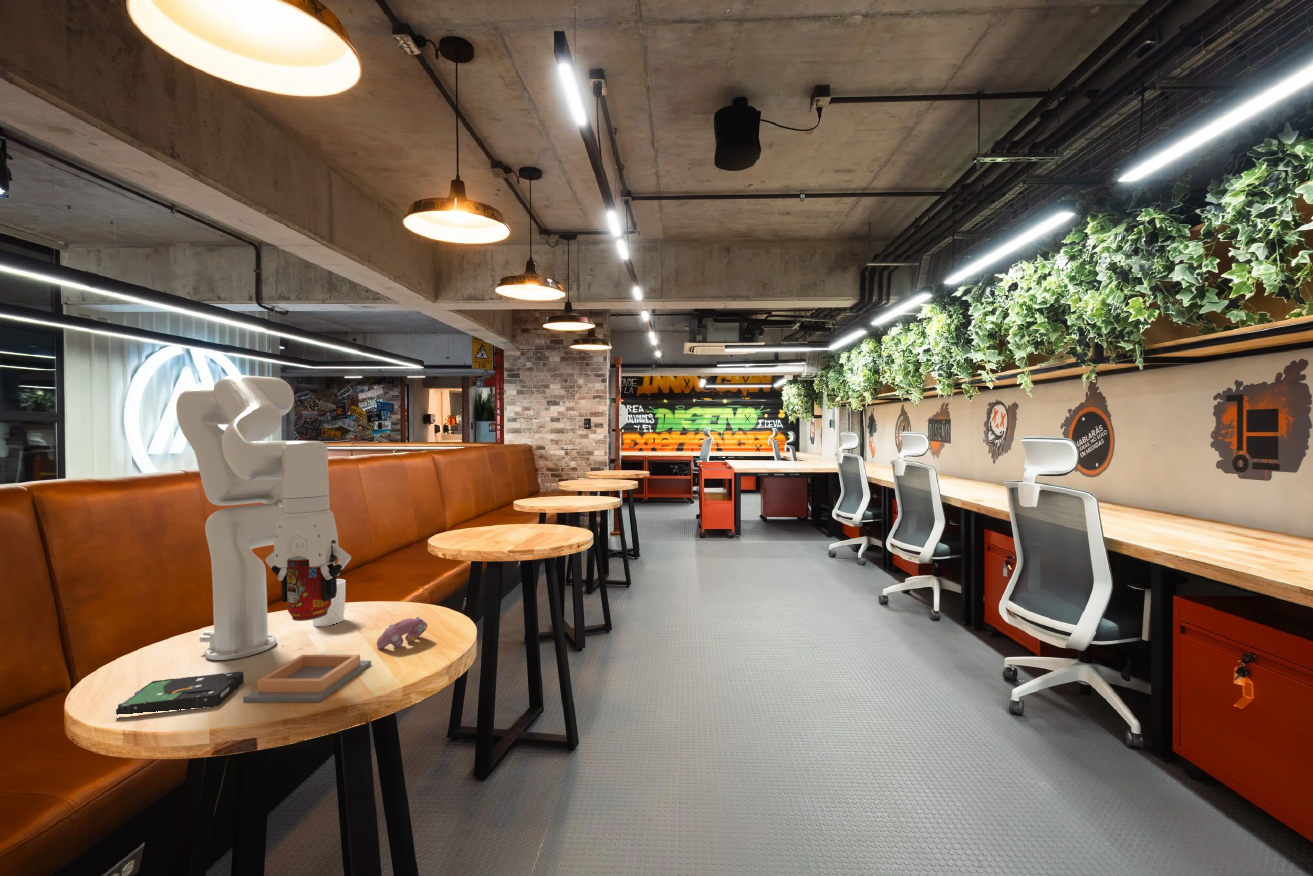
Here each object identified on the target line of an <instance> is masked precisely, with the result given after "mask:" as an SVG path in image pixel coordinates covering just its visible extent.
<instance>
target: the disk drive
mask: <svg viewBox="0 0 1313 876" xmlns="http://www.w3.org/2000/svg"><path fill="white" fill-rule="evenodd" d="M244 677H245V675H244V671H231V672H222V673H216V674H215V673H214V674H207V675H204V674H203V675H198V676H197V675H194V676H188V677H187V676H186V677H180V678H177V677H176V678H167V679H161V680H160V679H159V680H152V681H151V682H150V683H148V684H147V685H145V686H143V687H142V688H140V689H139V690H137V691H136V692H134V695H132V696H131V697H128V699H126V700H125V701H123V702H122V703H119V704H117V708H116V709H115V715H116V714H117V715H118V714H133V713H143V712H156V711H157V712H158V711H169V710H179V709H180V710H181V709H191V708H203V707H211V708H216V707H215V706H217V707H218V706H219V705H221V703H222V702H224V701H225V700H226V699H227V698H228V697H229V696H230V695H232V694H233V693H234V692H235V691H236V690H237V689H238V688H239V687H241V685H243V684H244V680H245V679H244ZM203 709H204V708H203Z"/></svg>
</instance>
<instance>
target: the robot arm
mask: <svg viewBox="0 0 1313 876" xmlns="http://www.w3.org/2000/svg"><path fill="white" fill-rule="evenodd" d="M294 402H295V397H294V391H293V389H292V387H291V385H290V384H289V383H288V382H287V381H286V380H284V379H282V378H279V377H275V376H274V377H273V376H260V375H259V376H258V375H242V374H236V375H227V376H224V377H222V378H220V379H219V380H218V381H217V382H216V383H215V384H214V386H211V387H209V386H208V387H206V386H205V387H193V388H190V389H187V390H185V391H182V393H180V394H179V396H178V398H177V400H176V406H175V409H176V410H175V411H176V419H177V422H178V425H179V428H180V430H181V432H182V434H183V436H184V437H185V439H186V441H187V442H188V444H189V445H190V447H191V449H192V451H193V453H194V455H195V459H196V462H197V467H198V470H199V475H200V478H201V479H200V480H201V484H202V487H203V491H204V494H205V496H206V498H207V500H208V502H209V503H211V504H212V505H214V506H220V507H221V506H231V507H226V508H223V509H219V510H217V511H214V512H213V513H211V514H210V515H209V516H208V518H207V520H206V522H205V525H204V527H205V528H204V532H205V536H206V540H207V541H206V542H207V544H208V549H209V555H210V561H211V579H212V605H213V606H212V607H213V611H212V612H213V614H212V615H213V629H212V630H211V629H210V630H209V629H208V630H205V631H204V632H203V634H202V635H201V636H200V638H199V642H200V643H209V647H208V648H207V649H206V650H205V658H207V660H212V661H227V660H236V659H241V658H247V657H250V656H255V655H257V654H260V653H262V652H264V651H267V650H269V649H271V648H272V647H274V646H275V645H276V644H277V637H276V636H275V635H272V634H269V631H268V630H269V628H268V626H269V625H268V624H269V623H268V598H267V597H268V591H267V572H266V571H267V569H266V566H265V564H267V565H268V567H270V569H271V571H272V573H274V574H275V576H277V580H278V581H279V582H280V588H281V591H280V592H281V601H282V602H283V603H288V602H287V559H288V558H291V557H296V556H300V557H305V558H307V559H309V567H312V568H318V567H320V570H321V572H322V574H323V576H324V578H325V579H324V580H322V600H323V601H328V600H330V599H333V598H335V597H336V593H337V580H336V579H337V577H339V575H341V572H343V570H345V568H346V566H347V565H348V563H350V561H351V559H352V555H351V554H349V553H348V552H347V551H345V549H344V548H342V547H340V546H339V535H338V529H337V524H336V519H335V516H334V512H333V511H330V509H331V508H330V506H331V505H330V484H329V482H330V481H329V479H330V478H329V474H330V473H329V450H328V446H327V444H326V443H325V442H323V441H320V440H264V439H267V438H269V437H270V436H272V435H273V434H275V432H277V431H278V430H279V428H280V427H281V424H282V417H283V416H286V414H288V413H289V412H290V411H291V410H292V408H293V405H294ZM219 425H227V426H226V428H225V429H222V428H221V427H220V426H219ZM259 503H261V504H259ZM248 504H249V505H248ZM250 504H251V505H250ZM239 505H240V506H239ZM241 505H242V506H241ZM267 546H274V547H273V551H272V552H271V553H270V554H269V555H268V556H267V557H266V558H265V560H264V562H265V563H264V562H263V560H262V559H261V558H260V557H258V556H257V555H256V554H255V553H254V551H253V550H254V549H256V548H257V549H258V548H260V547H261V548H262V547H267ZM336 562H337V563H336ZM328 565H329V568H328Z"/></svg>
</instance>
